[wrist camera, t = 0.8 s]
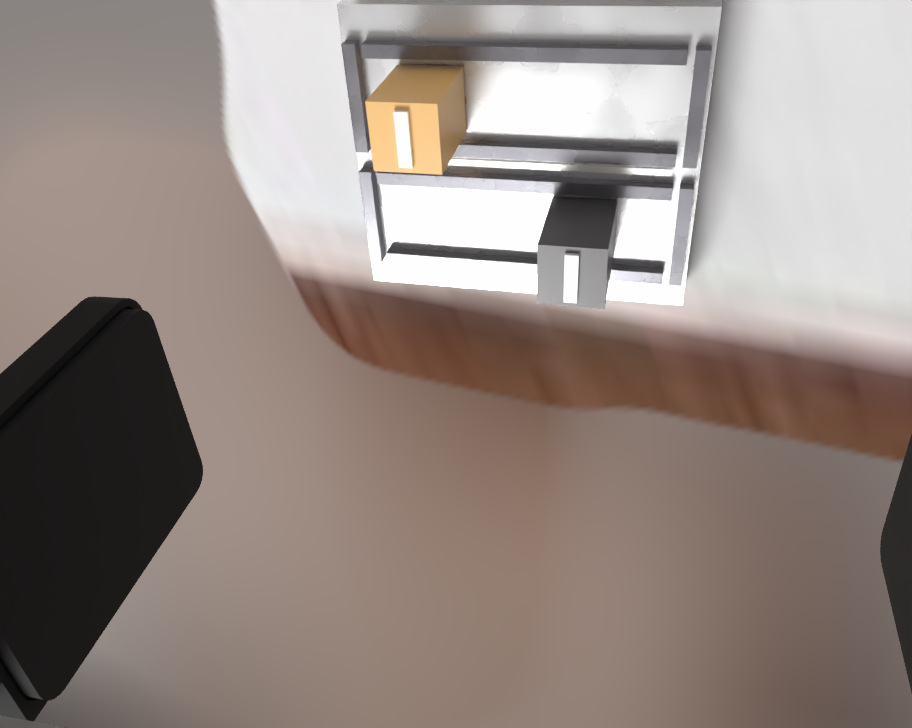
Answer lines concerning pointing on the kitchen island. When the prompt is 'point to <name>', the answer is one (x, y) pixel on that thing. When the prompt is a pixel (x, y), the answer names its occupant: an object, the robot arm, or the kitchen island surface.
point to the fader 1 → (417, 119)
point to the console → (540, 134)
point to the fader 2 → (576, 252)
